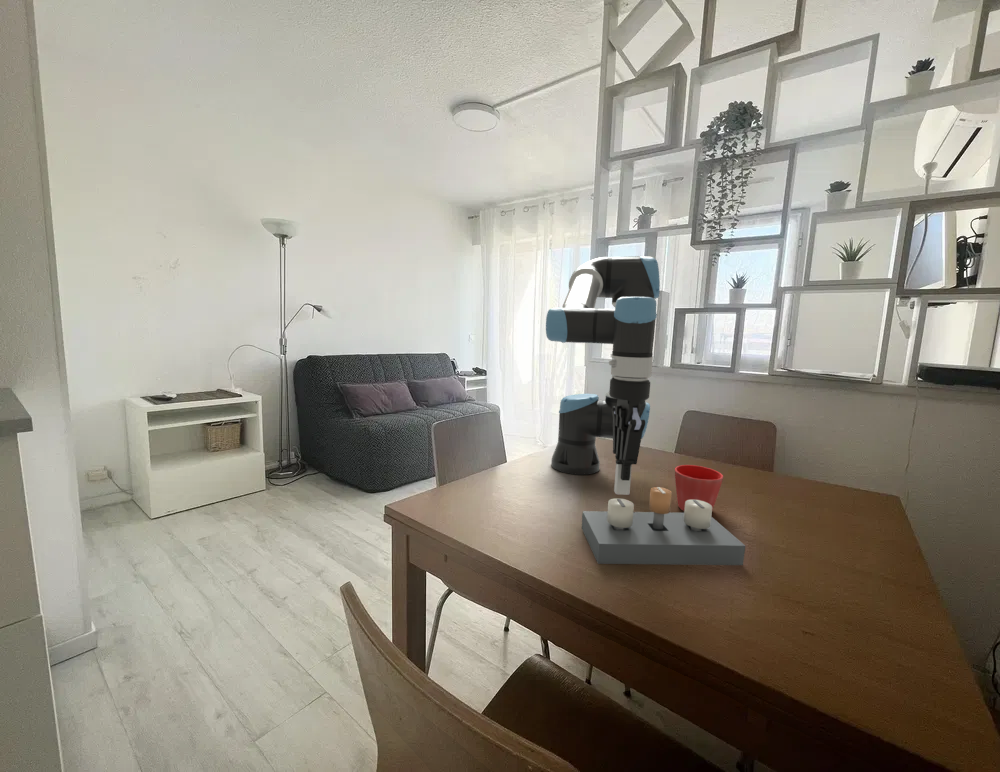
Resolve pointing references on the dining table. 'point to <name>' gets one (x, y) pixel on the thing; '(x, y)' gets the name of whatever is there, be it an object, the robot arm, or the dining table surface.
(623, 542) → the control box
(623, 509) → the knob
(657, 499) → the pot knob
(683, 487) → the flower pot
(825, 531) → the dining table surface
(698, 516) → the knob
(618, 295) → the robot arm
